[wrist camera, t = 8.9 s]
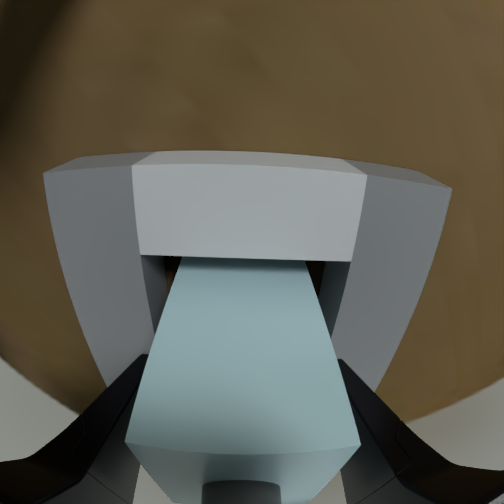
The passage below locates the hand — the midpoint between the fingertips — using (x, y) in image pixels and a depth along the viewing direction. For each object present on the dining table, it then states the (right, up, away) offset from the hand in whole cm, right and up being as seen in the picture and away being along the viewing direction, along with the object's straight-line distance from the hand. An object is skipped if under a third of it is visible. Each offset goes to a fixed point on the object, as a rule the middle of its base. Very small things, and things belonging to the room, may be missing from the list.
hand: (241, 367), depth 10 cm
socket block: (0, +2, +3) cm, 4 cm away
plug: (0, +2, +3) cm, 4 cm away
